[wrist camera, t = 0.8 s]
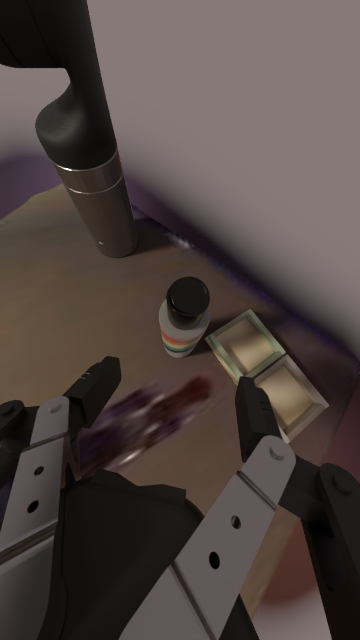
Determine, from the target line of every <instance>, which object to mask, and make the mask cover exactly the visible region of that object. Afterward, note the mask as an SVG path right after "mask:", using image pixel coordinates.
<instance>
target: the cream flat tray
mask: <svg viewBox="0 0 360 640" xmlns="http://www.w3.org/2000/svg"><path fill="white" fill-rule="evenodd" d="M205 341H206V342H207V344H208V345H209V346H210V348H211V349H212V351H213V352H214V354H215V355H216V356H217V358H218V359H219V361H220V362H221V364H222V365H223V366H224V368H225V369H226V371H227V372H228V374H229V375H230V376H231V378H232V379H233V381H234V382H235V384H236V385H237V386H238V382H239V378H240V376H244V377H251V378H253V379H254V382H255V385H256V387H259V388H262V389H263V390H264V391H265V392H266V393H267V395H268V397H269V400H270V403H271V406H272V409H273V412H274V414H275V417H276V420H277V423H278V426H279V429H280V432H281V435H282V438H283V440H284V441H285V442H286V443H287V444H288V443H289V442H290V441H291V440H292V439H293V438H294V437H295V436H296V435H298V434H299V433H300V432H301V431H302V430H303V429H304V428H305V427H306V426H307V425H309V424H310V423H311V422H312V421H313V420H314V419H315V418H316V417H317V416H318V415H319V414H321V413H322V412H323V411H324V410H325V409H326V408H327V407H328V406H329V405H328V403H327V402H326V401H325V400H324V398H323V397H322V396H321V395H320V393H319V392H318V391H317V390H316V389H315V387H314V386H313V385H312V384H311V382H310V381H309V380H308V379H307V378H306V376H305V375H304V374H303V373H302V371H301V370H300V369H299V368H298V367H297V365H296V364H295V363H294V362H293V360H292V359H291V358H290V357H289V355H288V354H287V355H283V354H285V353H286V352H285V351H284V349H283V348H282V347H281V346H280V344H279V343H278V342H277V341H276V340H275V338H274V337H273V336H272V335H271V333H270V332H269V331H268V330H267V328H266V327H265V326H264V325H263V324H262V322H261V321H260V320H259V319H258V317H257V316H256V315H255V314H254V313H253V311H252V310H251V309H249V310H248V311H246V312H244V313H243V314H241V315H240V316H238V317H237V318H235V319H234V320H232V321H231V322H229V323H227V324H226V325H224V326H223V327H221V328H220V329H218V330H217V331H215V332H214V333H212V334H210V335H209V336H207V337H206V338H205Z"/></svg>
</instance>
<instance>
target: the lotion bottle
mask: <svg viewBox="0 0 360 640" xmlns="http://www.w3.org/2000/svg"><path fill="white" fill-rule="evenodd" d="M209 301H210V295H209V291H208V288H207V287H206V285H205V284H204V283H203V282H202V281H201V280H199V279H198V278H195V277H183V278H180V279H178V280H177V281H175V282H174V283H173V284H172V285H171V286H170V288H169V289H168V292H167V296H166V300H165V301H164V302H163V304H162V305H161V308H160V311H159V322H160V328H161V333H162V338H163V343H164V347H165V349H166V351H167V352H168V353H169V354H170V355H171V356H173V357H177V358H181V357H185V356H187V355H188V354H190V353H191V351H192V350H193V349H194V347H195V346H196V344H197V343H198V341H199V340H200V338H201V337H202V335H203V334H204V332H205V330H206V329H207V327H208V324H209V320H210V313H209V309H208V305H209Z"/></svg>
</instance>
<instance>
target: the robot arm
mask: <svg viewBox="0 0 360 640" xmlns="http://www.w3.org/2000/svg"><path fill="white" fill-rule="evenodd" d="M0 64H2V65H5V66H9V67H14V68H65V69H66V70H67V73H68V75H69V78H70V81H71V82H70V85H69V86H68V88H67V89H66V91H65V92H64V93H63V94H62V95H61V96H60V97H59V98H58V99H56V100H55V101H53V102H51V103H50V104H49V105H47V106H46V107H45V108H44V109H43V110H42V111H41V112H40V113H39V115H38V117H37V119H36V124H35V128H36V132H37V135H38V138H39V140H40V142H41V144H42V146H43V148H44V149H45V151H46V153H47V155H48V157H49V159H50V161H51V162H52V164H53V166H54V168H55V170H56V171H57V173H58V175H59V177H60V179H61V180H62V182H63V184H64V186H65V188H66V190H67V192H68V194H69V195H70V197H71V199H72V201H73V203H74V205H75V206H76V208H77V210H78V212H79V214H80V216H81V217H82V219H83V221H84V223H85V225H86V227H87V229H88V230H89V232H90V234H91V236H92V238H93V240H94V242H95V243H96V245H97V247H98V249H99V250H100V251H101V252H102V253H103V254H104V255H106V256H109V257H123V256H126V255H128V254H130V253H131V252H133V251H134V250H135V248H136V247H137V244H138V235H137V231H136V226H135V221H134V217H133V213H132V208H131V204H130V200H129V195H128V191H127V187H126V182H125V178H124V173H123V169H122V165H121V161H120V156H119V152H118V148H117V143H116V138H115V134H114V130H113V126H112V122H111V118H110V113H109V109H108V105H107V101H106V96H105V91H104V87H103V82H102V78H101V73H100V68H99V63H98V58H97V53H96V48H95V43H94V37H93V32H92V27H91V21H90V16H89V11H88V5H87V0H0ZM120 381H121V369H120V361H119V358H116V357H110V356H107V357H105V358H104V359H103V360H102V362H101V363H96V364H95V365H93V366H91V367H90V368H89V369H88V370H87V371H86V372H85V374H83V375H82V376H81V378H79V379H78V380H77V381H76V382H75V383H74V384H73V385H72V386H71V387H70V388H69V389H68V390H67V391H66V392H65V393H64V394H63V395H62V396H58V397H54V398H51V399H49V400H47V401H46V402H44V403H43V404H42V405H41V406H33V407H25V406H24V404H23V402H22V401H20V400H13V401H9V402H6V403H3V404H1V405H0V444H1V445H2V446H1V447H0V490H1V489H2V488H3V486H4V485H5V484H6V483H7V482H8V480H9V479H10V478H11V477H12V475H13V474H14V473H15V472H16V475H15V478H14V482H13V486H12V490H11V494H10V498H9V502H8V505H7V509H6V513H5V517H4V521H3V525H2V529H1V532H0V640H259V637H258V635H257V633H256V631H255V628H254V626H253V624H252V621H251V619H250V617H249V614H248V612H247V610H246V607H245V605H244V603H243V601H242V598H241V596H240V594H239V592H240V590H241V588H242V585H243V583H244V581H245V579H246V576H247V574H248V572H249V570H250V567H251V565H252V563H253V560H254V558H255V556H256V554H257V551H258V549H259V547H260V545H261V542H262V540H263V538H264V536H265V533H266V531H267V529H268V527H269V524H270V522H271V520H272V517H273V515H274V513H275V510H276V507H277V505H280V506H282V507H283V508H285V509H286V510H288V511H290V512H291V513H293V514H294V515H296V516H298V517H299V518H301V522H302V526H303V530H304V534H305V538H306V541H307V545H308V549H309V553H310V557H311V560H312V564H313V568H314V572H315V576H316V580H317V583H318V587H319V591H320V595H321V599H322V603H323V606H324V611H325V614H326V618H327V622H328V626H329V629H330V634H331V637H332V640H360V484H359V482H358V481H357V480H356V479H355V478H354V477H353V476H352V475H351V474H350V473H349V472H347V471H346V470H344V469H343V468H341V467H340V466H337V465H335V464H331V463H325V464H323V465H322V466H321V467H318V466H316V465H314V464H312V463H310V462H308V461H306V460H304V459H302V458H300V457H299V456H297V455H296V454H295V453H294V452H293V450H292V449H291V447H290V446H289V445H288V444H287V443H286V442H285V441H284V440H283V438H282V435H281V432H280V429H279V426H278V423H277V420H276V417H275V414H274V412H273V409H272V406H271V403H270V400H269V397H268V395H267V393H266V392H265V391H264V390H263V389H262V388H259V387H256V385H255V382H254V379H253V378H251V377H244V376H240V378H239V382H238V386H237V391H236V396H235V406H236V414H237V423H238V431H239V439H240V448H241V456H242V462H244V463H245V464H244V466H243V467H242V469H241V470H240V471H237V472H236V473H235V474H234V476H233V477H232V478H231V480H230V481H229V483H228V484H227V486H226V487H225V489H224V490H223V491H222V493H221V494H220V496H219V497H218V499H217V500H216V502H215V503H214V504H213V506H212V507H211V509H210V510H209V512H208V513H207V515H206V516H205V517H204V515H203V514H202V512H201V511H200V510H199V509H198V508H197V507H196V506H195V505H194V504H193V503H192V502H191V501H189V500H188V499H186V498H185V497H186V490H184V489H180V488H176V487H172V486H168V485H164V484H160V485H148V486H136V485H135V484H133V483H132V482H130V481H129V480H127V479H126V478H124V477H123V476H121V475H120V474H118V473H115V472H111V471H107V470H103V469H99V468H97V469H96V471H95V473H94V475H93V476H90V477H85V478H83V479H81V476H80V469H79V433H78V432H79V431H80V430H81V428H82V427H83V428H88V429H90V427H91V426H92V424H93V423H94V421H95V420H96V418H97V417H98V415H99V414H100V412H101V411H102V409H103V408H104V406H105V405H106V403H107V402H108V400H109V399H110V397H111V396H112V394H113V393H114V391H115V390H116V388H117V387H118V385H119V383H120ZM16 470H17V471H16Z"/></svg>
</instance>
